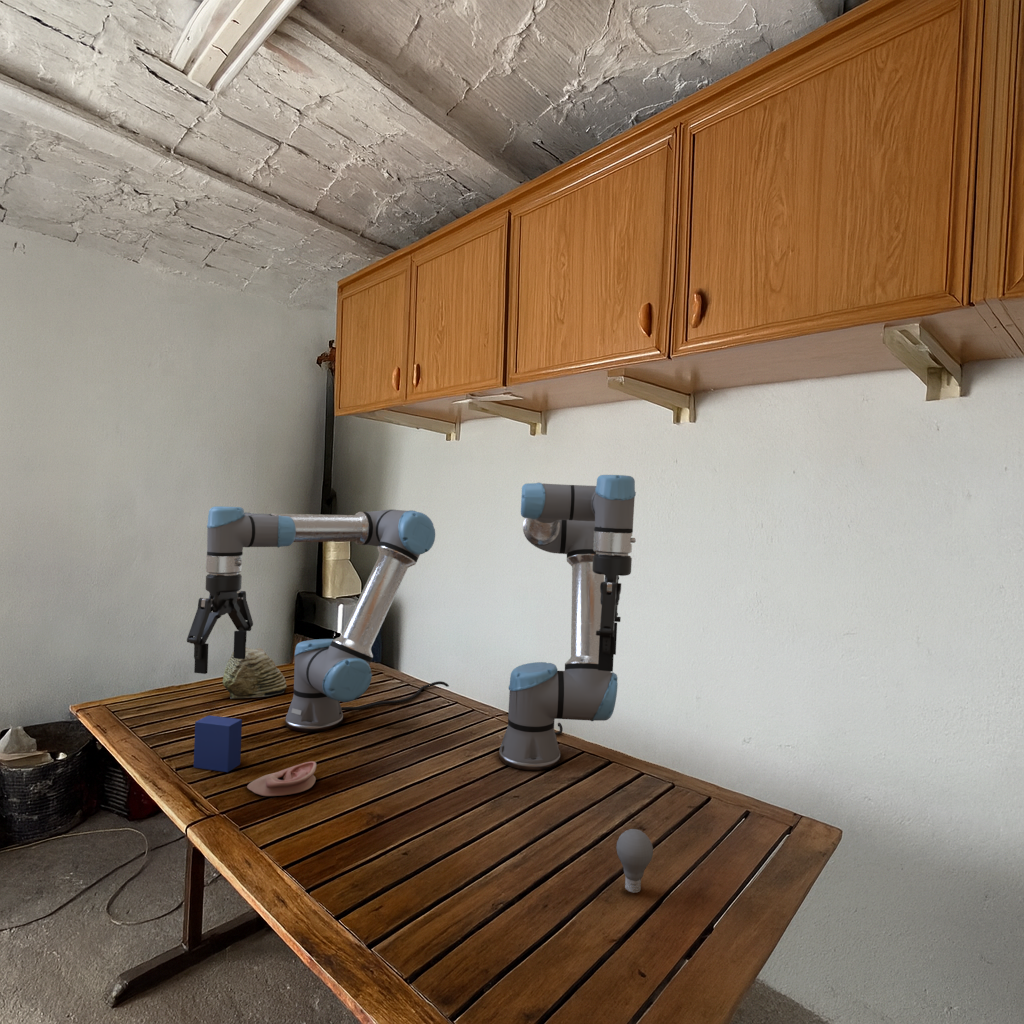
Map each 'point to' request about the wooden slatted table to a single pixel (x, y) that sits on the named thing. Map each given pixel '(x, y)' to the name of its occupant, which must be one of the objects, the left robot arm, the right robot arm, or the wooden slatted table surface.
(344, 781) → the wooden slatted table surface
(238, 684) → the fossil
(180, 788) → the wooden slatted table surface
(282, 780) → the anatomical model
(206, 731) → the brick
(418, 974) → the wooden slatted table surface
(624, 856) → the light bulb
